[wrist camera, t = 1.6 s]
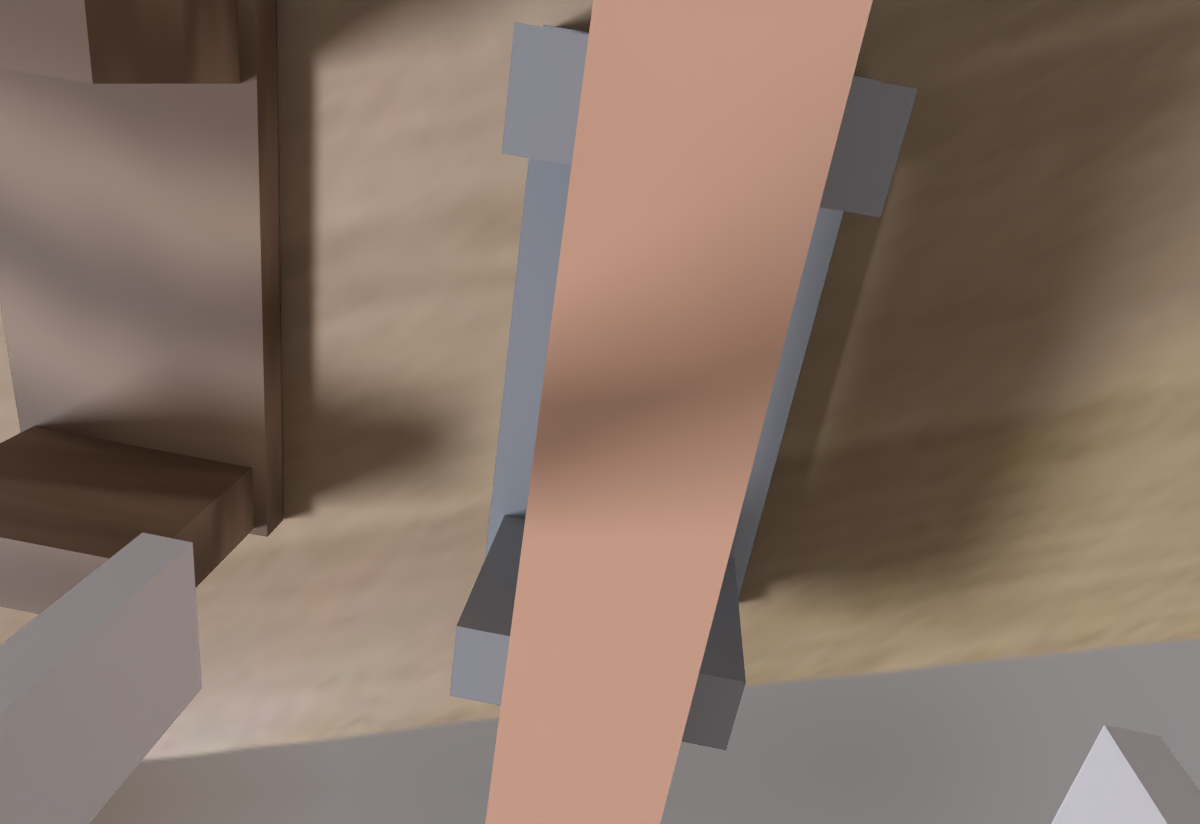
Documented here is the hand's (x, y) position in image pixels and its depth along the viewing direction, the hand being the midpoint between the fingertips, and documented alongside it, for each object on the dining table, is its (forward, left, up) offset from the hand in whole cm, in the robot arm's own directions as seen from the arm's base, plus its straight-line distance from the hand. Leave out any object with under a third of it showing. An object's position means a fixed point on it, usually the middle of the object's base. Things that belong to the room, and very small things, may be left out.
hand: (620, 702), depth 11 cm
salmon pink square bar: (0, 0, -8) cm, 8 cm away
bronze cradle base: (0, -17, -15) cm, 23 cm away
